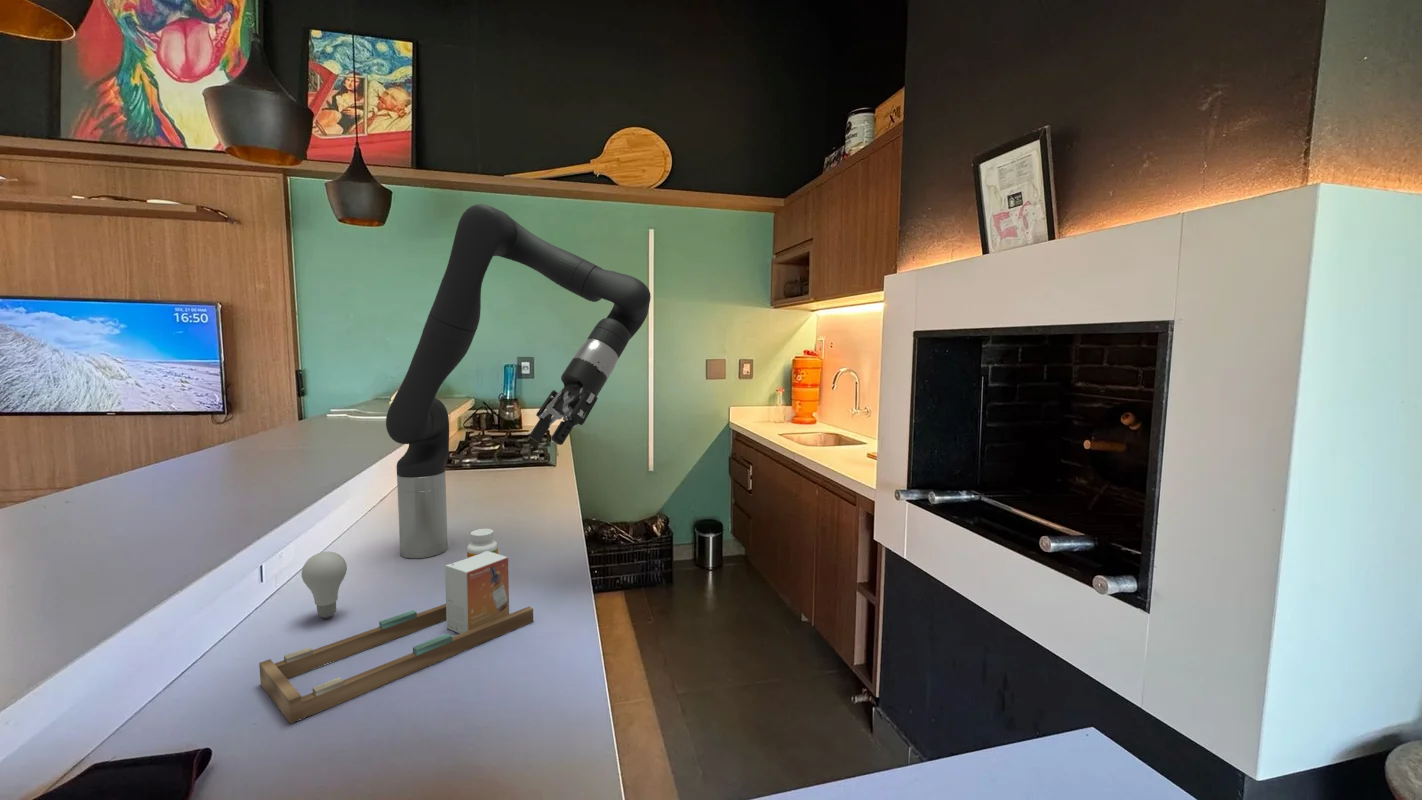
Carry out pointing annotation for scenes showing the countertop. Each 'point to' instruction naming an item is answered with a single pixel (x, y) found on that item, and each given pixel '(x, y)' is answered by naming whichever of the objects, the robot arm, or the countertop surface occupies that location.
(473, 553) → the supplement bottle
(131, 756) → the countertop surface
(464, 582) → the small box
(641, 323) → the robot arm
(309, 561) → the lightbulb
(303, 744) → the countertop surface
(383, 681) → the u-shaped wooden frame
